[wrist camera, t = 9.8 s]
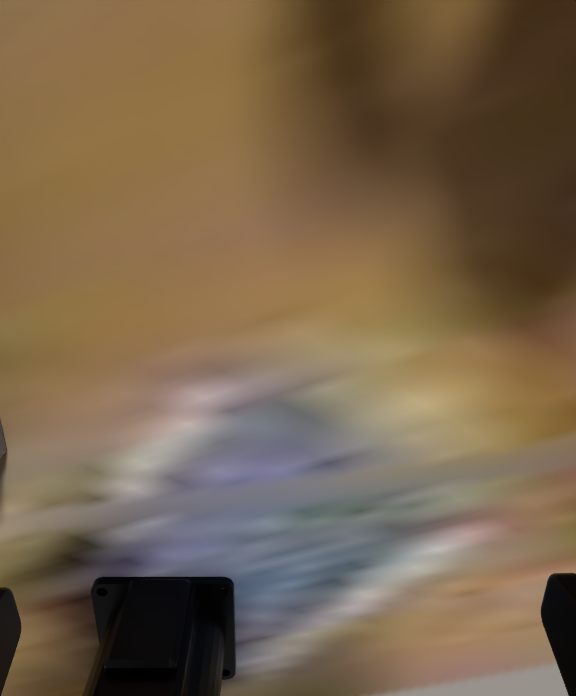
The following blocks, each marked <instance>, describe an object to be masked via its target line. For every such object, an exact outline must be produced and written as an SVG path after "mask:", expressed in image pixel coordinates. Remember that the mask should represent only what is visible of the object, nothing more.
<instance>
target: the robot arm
mask: <svg viewBox="0 0 576 696" xmlns="http://www.w3.org/2000/svg"><path fill="white" fill-rule="evenodd" d="M102 588H104V589H102ZM221 588H225V589H221ZM91 595H92V601H93V607H94V613H95V618H96V624H97V630H98V636H99V642H100V645H99V648H98V651H97V654H96V657H95V660H94V663H93V666H92V669H91V672H90V675H89V677H88V680H87V683H86V686H85V689H84V692H83V695H82V696H220V692H221V681H222V680H226V679H230V678H233V676H234V675H235V670H236V652H235V609H234V583H233V581H232V580H231V579H229V578H227V577H101V578H98V579H96V580H95V582H94V584H93V586H92V589H91ZM541 618H542V623H543V626H544V628H545V631H546V634H547V637H548V640H549V642H550V645H551V648H552V651H553V653H554V656H555V659H556V662H557V664H558V667H559V670H560V673H561V676H562V678H563V681H564V684H565V687H566V689H567V692H568V695H569V696H576V574H575V573H554V574H552V575H551V576H550V577H549V578H548V581H547V586H546V590H545V594H544V598H543V602H542V606H541ZM20 634H21V620H20V617H19V613H18V610H17V606H16V603H15V599H14V596H13V593H12V591H11V590H10V589H9V588H6V587H0V696H1V694H2V690H3V687H4V684H5V681H6V678H7V675H8V672H9V669H10V666H11V663H12V660H13V657H14V654H15V651H16V648H17V644H18V641H19V638H20Z"/></svg>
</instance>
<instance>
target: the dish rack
mask: <svg viewBox="0 0 576 696" xmlns="http://www.w3.org/2000/svg"><path fill="white" fill-rule="evenodd" d="M6 451H7V449H6V445H5V440H4V436H3V431H2V427H1V422H0V458H1V457H2V456H3V455H4V453H5V452H6Z"/></svg>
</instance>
